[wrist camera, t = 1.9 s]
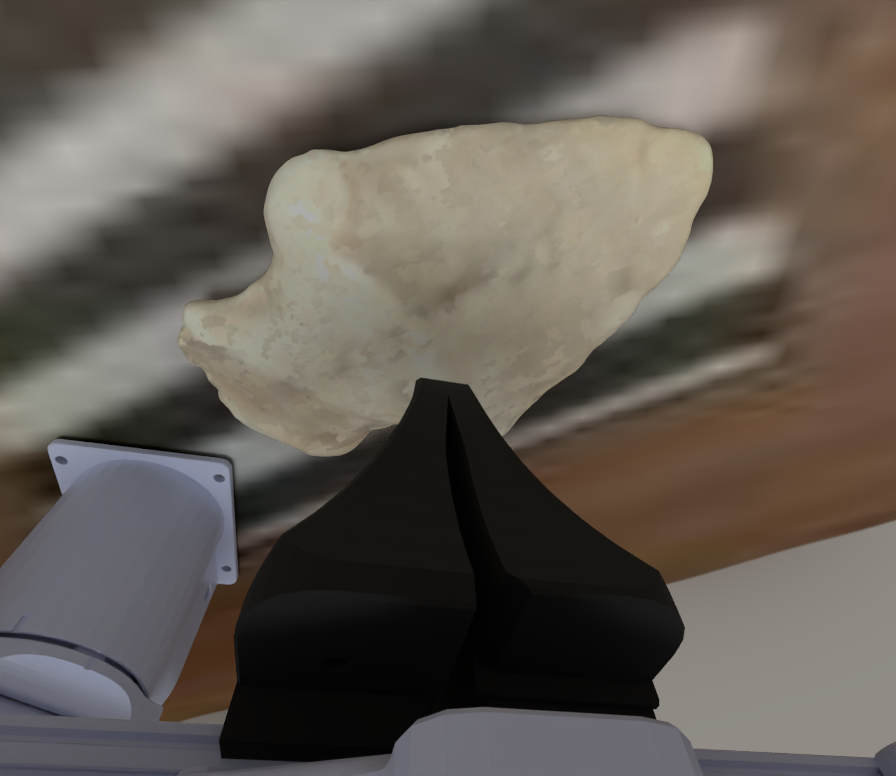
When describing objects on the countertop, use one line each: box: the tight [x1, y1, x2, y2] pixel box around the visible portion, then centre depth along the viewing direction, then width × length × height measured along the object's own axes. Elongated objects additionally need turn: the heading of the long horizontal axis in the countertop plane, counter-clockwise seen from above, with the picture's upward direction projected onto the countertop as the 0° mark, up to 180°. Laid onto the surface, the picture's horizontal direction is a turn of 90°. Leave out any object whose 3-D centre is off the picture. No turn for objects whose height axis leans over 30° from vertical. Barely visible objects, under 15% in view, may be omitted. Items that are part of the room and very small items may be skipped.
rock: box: [177, 116, 713, 456], centre depth 18 cm, size 4×13×20 cm
